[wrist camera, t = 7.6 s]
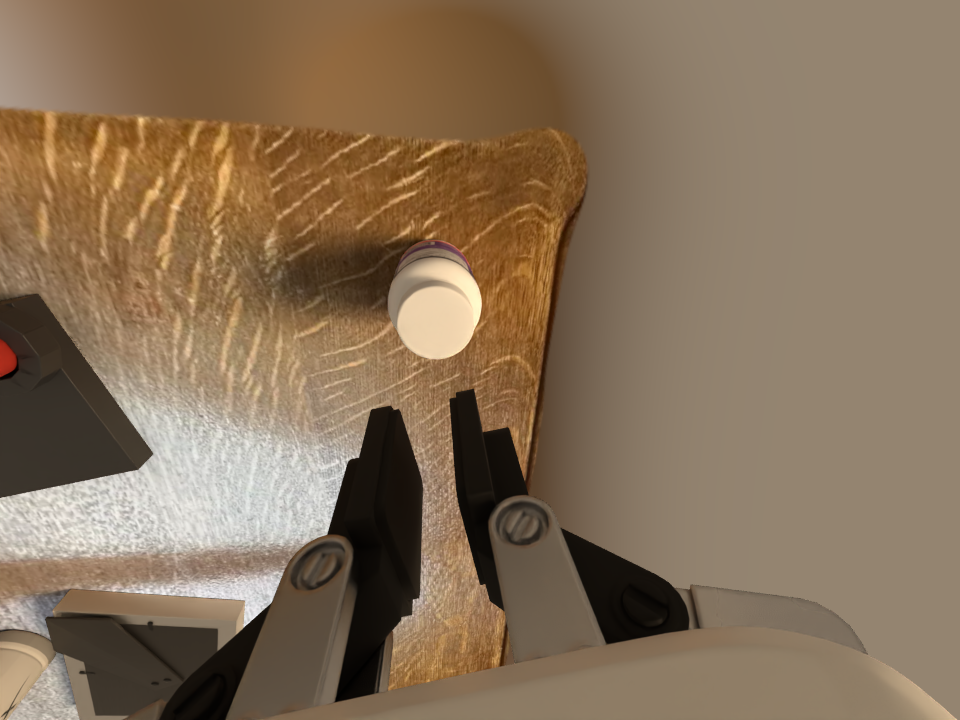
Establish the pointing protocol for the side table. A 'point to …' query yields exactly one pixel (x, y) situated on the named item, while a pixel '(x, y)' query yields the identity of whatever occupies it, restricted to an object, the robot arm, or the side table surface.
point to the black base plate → (56, 409)
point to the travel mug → (21, 666)
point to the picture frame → (136, 645)
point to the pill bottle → (434, 300)
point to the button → (7, 359)
